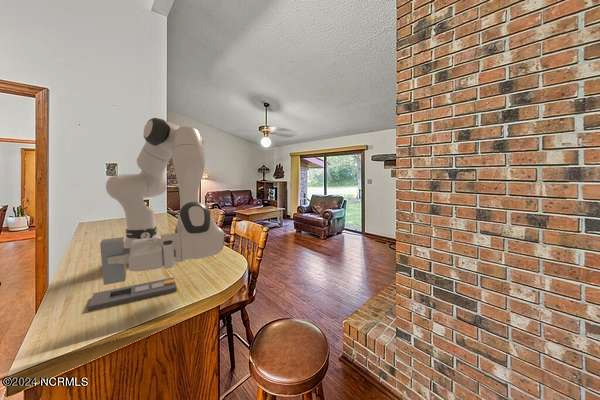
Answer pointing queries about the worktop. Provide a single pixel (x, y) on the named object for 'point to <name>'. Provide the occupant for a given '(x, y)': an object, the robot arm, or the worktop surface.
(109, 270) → the grey rectangular block
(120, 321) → the worktop surface
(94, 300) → the power strip
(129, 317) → the worktop surface
